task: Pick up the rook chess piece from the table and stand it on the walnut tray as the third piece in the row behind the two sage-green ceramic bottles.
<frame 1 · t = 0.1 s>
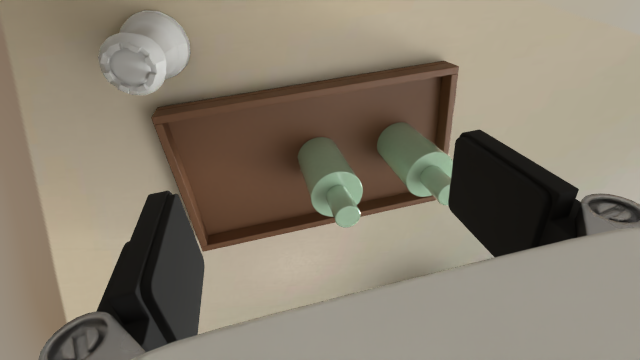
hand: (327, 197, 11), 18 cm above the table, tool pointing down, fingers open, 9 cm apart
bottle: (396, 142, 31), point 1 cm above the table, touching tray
rook chess piece: (158, 43, 24), on the table
tray: (317, 153, 31), on the table
bottle mid: (319, 157, 30), point 1 cm above the table, touching tray
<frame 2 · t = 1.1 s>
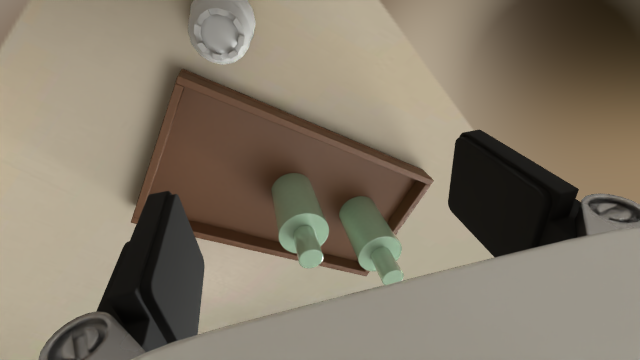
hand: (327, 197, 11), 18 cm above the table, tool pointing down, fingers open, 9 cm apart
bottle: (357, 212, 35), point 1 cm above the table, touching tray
rook chess piece: (223, 20, 24), on the table
tray: (291, 186, 32), on the table
bottle mid: (292, 191, 32), point 1 cm above the table, touching tray
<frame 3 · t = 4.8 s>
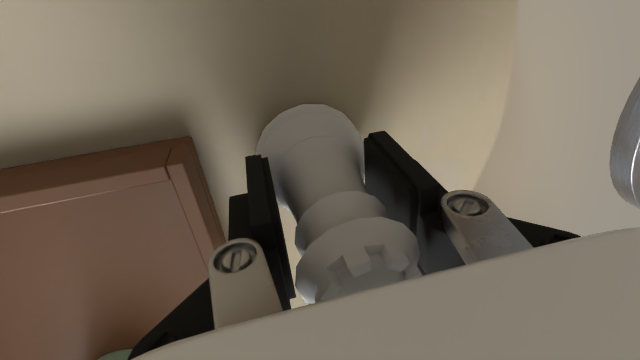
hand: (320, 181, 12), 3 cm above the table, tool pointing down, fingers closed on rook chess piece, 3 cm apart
rook chess piece: (306, 148, 14), on the table, touching gripper
tray: (135, 358, 18), on the table
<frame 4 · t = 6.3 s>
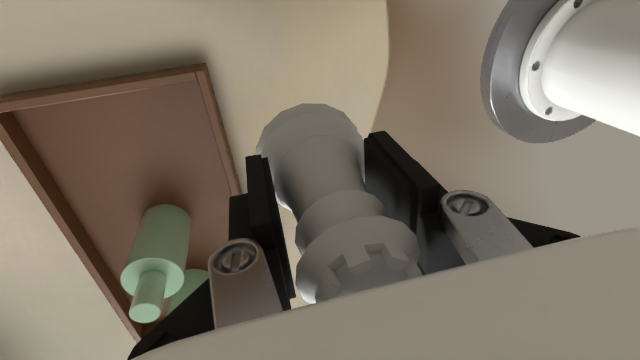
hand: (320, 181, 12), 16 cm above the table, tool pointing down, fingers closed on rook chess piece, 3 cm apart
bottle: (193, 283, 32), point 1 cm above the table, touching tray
rook chess piece: (306, 148, 15), point 13 cm above the table, touching gripper
tray: (168, 218, 29), on the table
bottle mid: (166, 223, 28), point 1 cm above the table, touching tray
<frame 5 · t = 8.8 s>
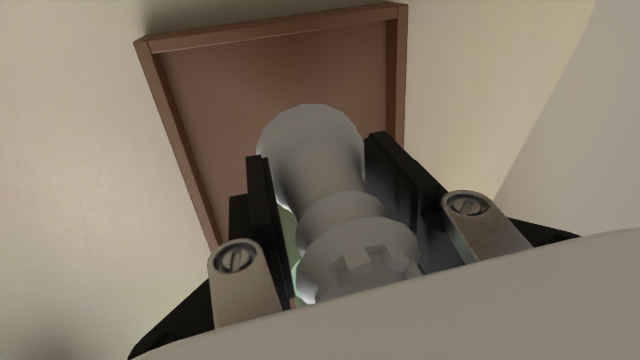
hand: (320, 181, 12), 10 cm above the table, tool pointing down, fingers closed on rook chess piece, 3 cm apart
rook chess piece: (306, 148, 14), point 7 cm above the table, touching gripper
tray: (302, 202, 24), on the table
bottle mid: (304, 208, 23), point 1 cm above the table, touching tray
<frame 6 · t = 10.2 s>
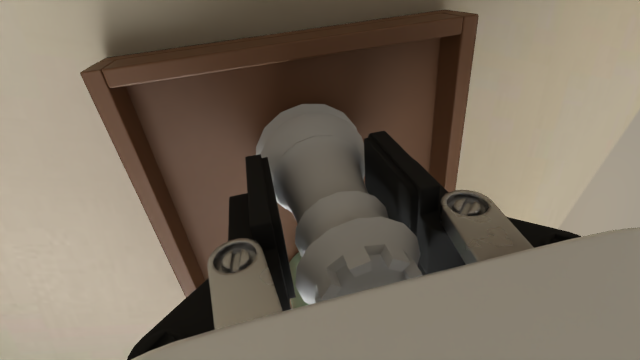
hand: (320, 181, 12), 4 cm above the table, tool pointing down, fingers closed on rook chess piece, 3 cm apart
rook chess piece: (306, 148, 14), point 1 cm above the table, touching gripper
tray: (318, 259, 19), on the table
bottle mid: (321, 269, 19), point 1 cm above the table, touching tray
when the fingers open (3 cm above the table, at t = 10.5 s): rook chess piece stays where it is, resting on tray.
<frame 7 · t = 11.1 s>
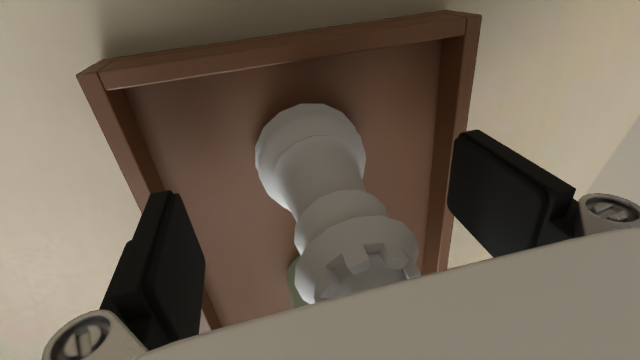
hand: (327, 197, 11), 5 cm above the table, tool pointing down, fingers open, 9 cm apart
rook chess piece: (305, 148, 15), point 1 cm above the table, touching tray
tray: (319, 262, 19), on the table
bottle mid: (322, 272, 18), point 1 cm above the table, touching tray
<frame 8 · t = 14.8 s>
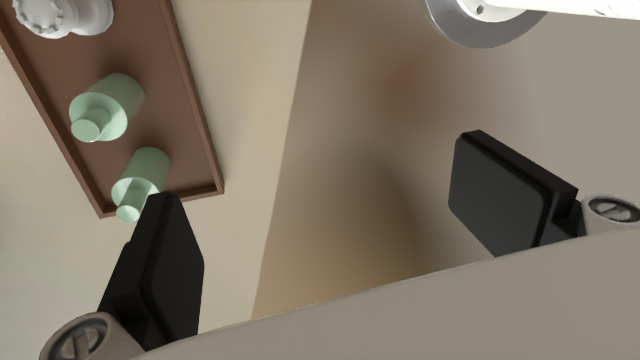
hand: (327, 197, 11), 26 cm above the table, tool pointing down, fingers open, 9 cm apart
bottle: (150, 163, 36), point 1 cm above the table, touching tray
rook chess piece: (85, 5, 28), point 1 cm above the table, touching tray
tray: (124, 92, 32), on the table
bottle mid: (121, 94, 32), point 1 cm above the table, touching tray
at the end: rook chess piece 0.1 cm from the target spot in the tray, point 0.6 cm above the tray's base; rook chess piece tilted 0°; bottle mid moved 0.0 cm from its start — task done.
